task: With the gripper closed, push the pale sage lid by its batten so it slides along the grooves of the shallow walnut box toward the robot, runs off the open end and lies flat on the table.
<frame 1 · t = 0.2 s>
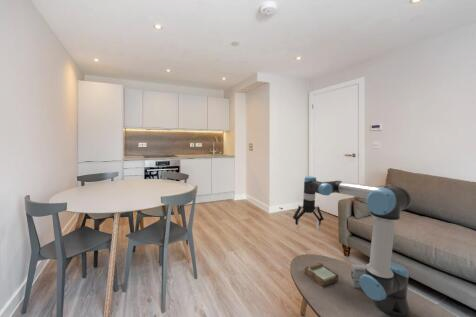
hand: (307, 229, 151), 26 cm above the table, fingers open, 13 cm apart
walnut box: (320, 277, 141), on the table
lid: (321, 273, 140), point 2 cm above the table, touching walnut box
ink box: (358, 285, 133), on the table
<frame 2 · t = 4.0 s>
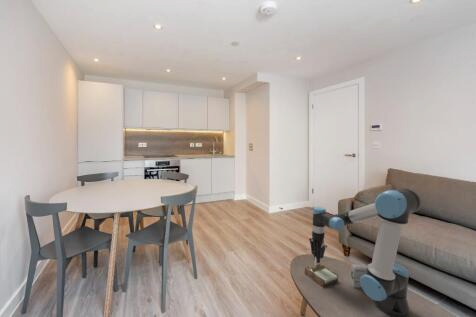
hand: (316, 266, 144), 5 cm above the table, fingers closed
lid: (323, 275, 139), point 2 cm above the table, touching gripper
everything else where it was.
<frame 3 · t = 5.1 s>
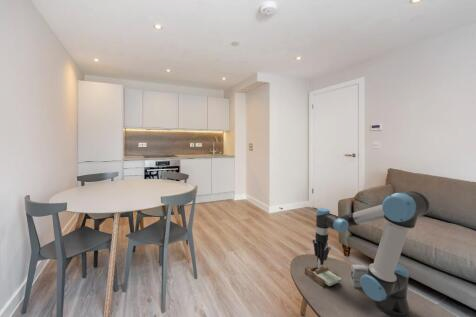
hand: (320, 268, 141), 5 cm above the table, fingers closed
lid: (326, 277, 136), point 2 cm above the table, touching walnut box
everything else where it was.
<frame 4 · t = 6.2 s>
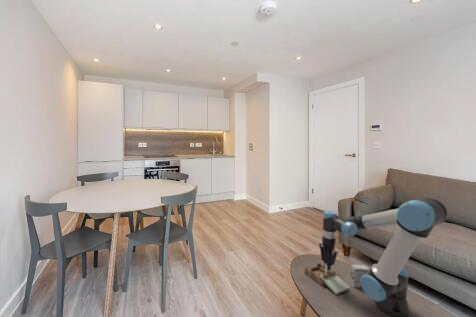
hand: (327, 273, 136), 5 cm above the table, fingers closed
lid: (333, 283, 132), point 2 cm above the table, tilted 12°, touching gripper
everything else where it was.
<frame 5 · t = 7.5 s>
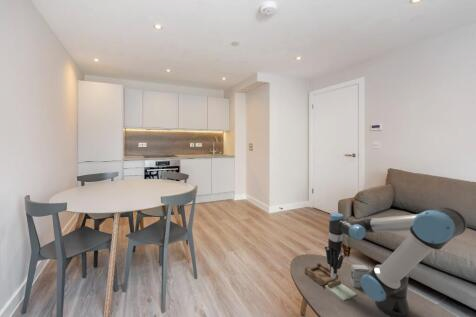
hand: (333, 277, 132), 5 cm above the table, fingers closed
lid: (340, 291, 128), on the table
everything else where it was.
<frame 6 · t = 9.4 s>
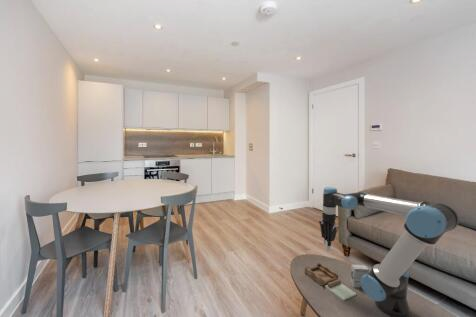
hand: (327, 250, 136), 20 cm above the table, fingers closed
nothing on the table moved.
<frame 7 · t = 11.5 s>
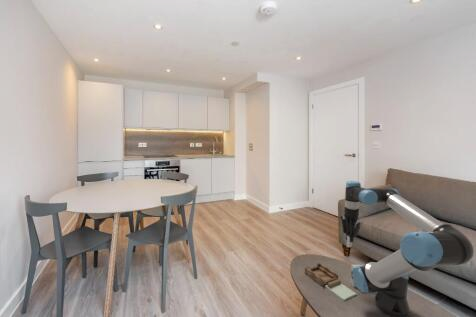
hand: (349, 246, 131), 24 cm above the table, fingers closed
nothing on the table moved.
at the end: lid inside the target area (3.2 cm from its centre), on the table; lid tilted 0° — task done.
